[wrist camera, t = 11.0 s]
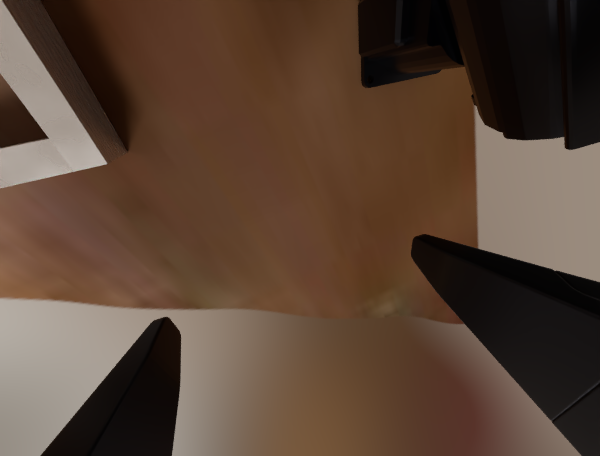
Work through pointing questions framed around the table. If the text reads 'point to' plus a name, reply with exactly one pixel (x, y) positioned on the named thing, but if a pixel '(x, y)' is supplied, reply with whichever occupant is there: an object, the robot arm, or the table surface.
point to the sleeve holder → (50, 100)
